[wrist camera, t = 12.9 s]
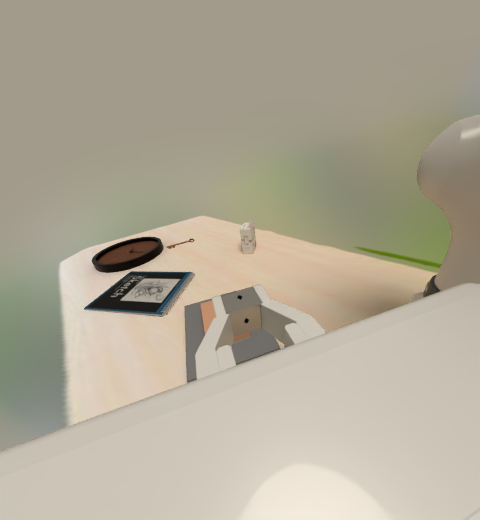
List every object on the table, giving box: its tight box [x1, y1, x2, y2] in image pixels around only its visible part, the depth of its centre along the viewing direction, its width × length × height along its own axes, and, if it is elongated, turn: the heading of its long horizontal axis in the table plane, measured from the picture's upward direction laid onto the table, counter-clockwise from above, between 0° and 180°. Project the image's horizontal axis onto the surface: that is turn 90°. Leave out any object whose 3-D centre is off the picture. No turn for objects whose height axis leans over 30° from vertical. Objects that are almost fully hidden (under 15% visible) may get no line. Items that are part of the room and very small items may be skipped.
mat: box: [185, 299, 280, 382], centre depth 46 cm, size 20×22×1 cm
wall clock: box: [92, 237, 163, 273], centre depth 91 cm, size 31×4×31 cm
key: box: [167, 239, 194, 249], centre depth 98 cm, size 6×1×15 cm
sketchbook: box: [84, 272, 195, 317], centre depth 64 cm, size 22×30×2 cm
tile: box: [201, 300, 251, 343], centre depth 46 cm, size 10×3×13 cm
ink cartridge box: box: [240, 217, 256, 254], centre depth 79 cm, size 9×5×15 cm, turn 167°
